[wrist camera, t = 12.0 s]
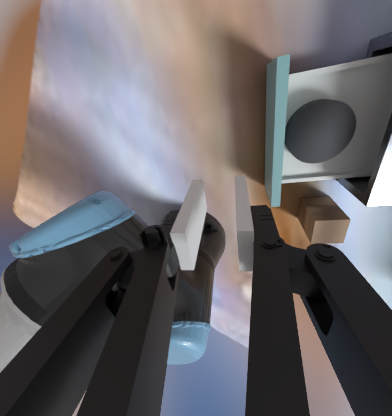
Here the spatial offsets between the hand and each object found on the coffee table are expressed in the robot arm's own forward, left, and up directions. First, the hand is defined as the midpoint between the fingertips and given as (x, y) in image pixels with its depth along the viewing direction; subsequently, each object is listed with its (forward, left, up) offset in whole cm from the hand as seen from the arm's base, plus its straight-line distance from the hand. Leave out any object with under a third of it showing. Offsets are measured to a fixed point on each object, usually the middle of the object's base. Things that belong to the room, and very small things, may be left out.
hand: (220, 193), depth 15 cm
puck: (+12, 0, -16) cm, 20 cm away
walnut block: (+15, -14, -19) cm, 27 cm away
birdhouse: (+14, 0, -18) cm, 23 cm away
